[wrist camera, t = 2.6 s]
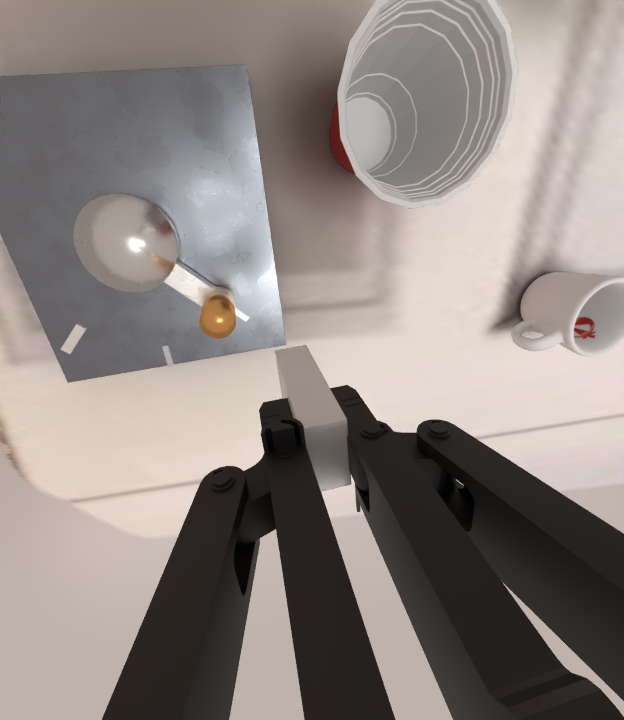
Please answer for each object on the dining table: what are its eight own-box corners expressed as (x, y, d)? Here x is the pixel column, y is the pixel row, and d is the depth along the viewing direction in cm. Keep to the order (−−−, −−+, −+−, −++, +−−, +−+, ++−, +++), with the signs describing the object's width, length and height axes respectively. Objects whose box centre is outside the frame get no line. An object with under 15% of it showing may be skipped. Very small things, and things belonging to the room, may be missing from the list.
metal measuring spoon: (66, 251, 27) (24, 262, 22) (112, 173, 26) (80, 164, 20) (210, 339, 32) (206, 367, 27) (254, 278, 31) (260, 294, 25)
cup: (498, 355, 43) (552, 386, 35) (480, 302, 39) (537, 323, 32) (575, 308, 42) (645, 330, 35) (564, 250, 39) (640, 260, 32)
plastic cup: (296, 203, 31) (331, 203, 20) (301, 49, 27) (350, -56, 16) (408, 211, 33) (492, 214, 23) (429, 70, 29) (546, -9, 18)
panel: (-52, 87, 23) (-72, 78, 22) (245, 71, 26) (246, 63, 25) (74, 375, 33) (67, 383, 31) (283, 339, 36) (286, 345, 34)
